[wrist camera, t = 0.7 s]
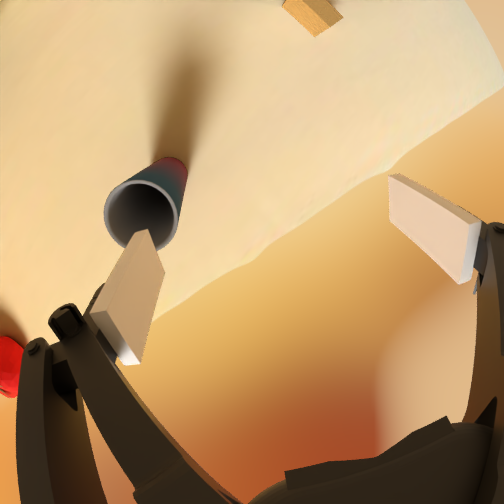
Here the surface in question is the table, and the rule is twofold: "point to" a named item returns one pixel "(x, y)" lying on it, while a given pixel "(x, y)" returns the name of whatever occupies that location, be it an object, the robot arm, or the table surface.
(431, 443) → the robot arm
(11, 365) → the tomato
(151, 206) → the cup
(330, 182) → the table surface
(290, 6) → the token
